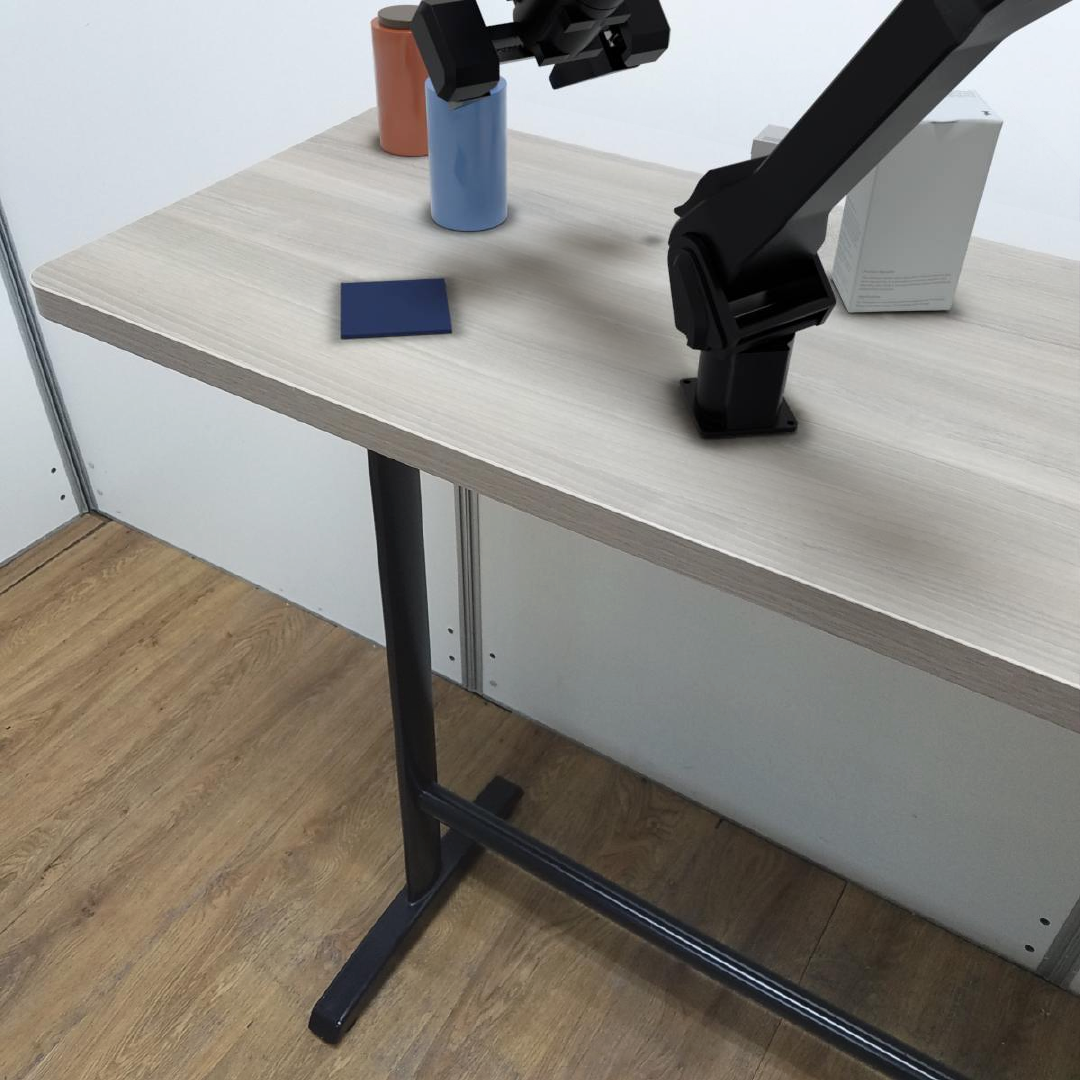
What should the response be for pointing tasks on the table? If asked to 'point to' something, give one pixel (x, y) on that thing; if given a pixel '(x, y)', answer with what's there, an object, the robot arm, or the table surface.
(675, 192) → the table surface
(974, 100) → the cosmetic box
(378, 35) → the terracotta jar
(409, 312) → the blue mat
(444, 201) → the blue jar
